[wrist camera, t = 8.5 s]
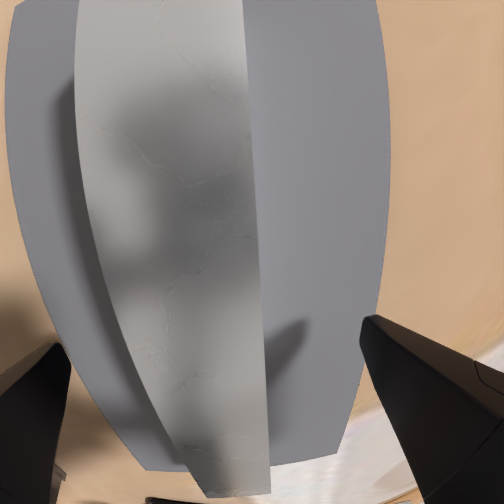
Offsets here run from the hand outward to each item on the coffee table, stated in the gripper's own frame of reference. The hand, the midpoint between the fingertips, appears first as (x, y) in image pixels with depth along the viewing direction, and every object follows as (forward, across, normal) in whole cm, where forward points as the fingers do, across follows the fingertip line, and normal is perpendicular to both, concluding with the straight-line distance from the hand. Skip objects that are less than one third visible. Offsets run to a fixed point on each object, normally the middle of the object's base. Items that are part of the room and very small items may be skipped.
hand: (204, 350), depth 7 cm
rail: (+2, 0, 0) cm, 2 cm away
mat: (+2, 0, 0) cm, 2 cm away
